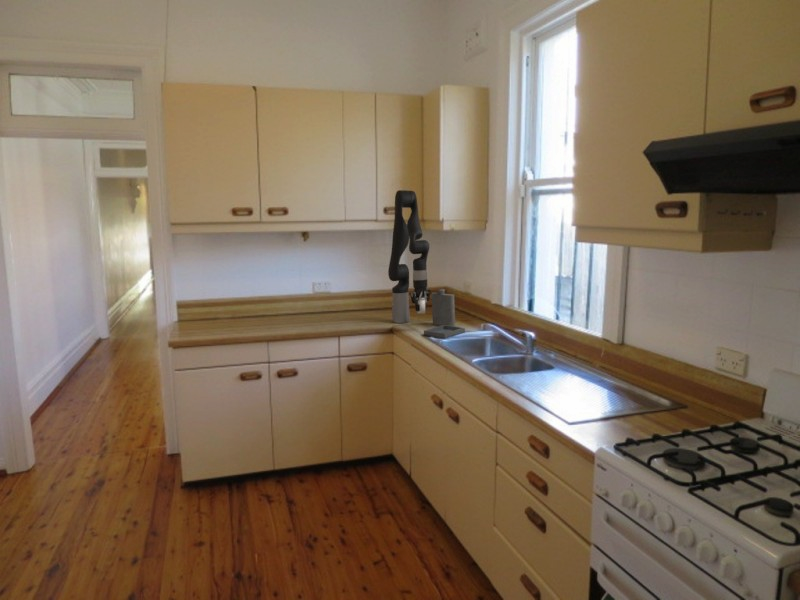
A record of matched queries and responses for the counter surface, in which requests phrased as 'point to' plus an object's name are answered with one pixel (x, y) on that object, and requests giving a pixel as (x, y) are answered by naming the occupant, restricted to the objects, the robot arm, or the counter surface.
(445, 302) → the hip flask
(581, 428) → the counter surface
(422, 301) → the shaker
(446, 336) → the tray
